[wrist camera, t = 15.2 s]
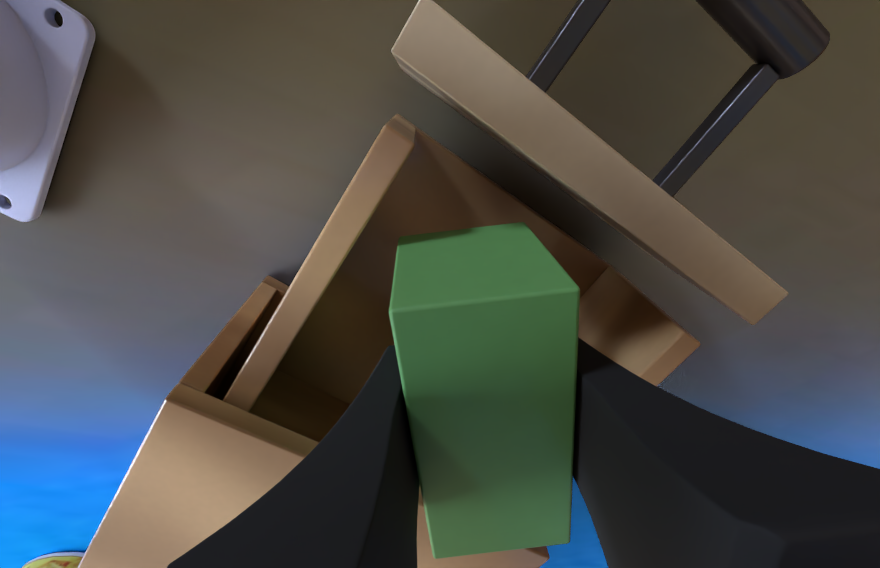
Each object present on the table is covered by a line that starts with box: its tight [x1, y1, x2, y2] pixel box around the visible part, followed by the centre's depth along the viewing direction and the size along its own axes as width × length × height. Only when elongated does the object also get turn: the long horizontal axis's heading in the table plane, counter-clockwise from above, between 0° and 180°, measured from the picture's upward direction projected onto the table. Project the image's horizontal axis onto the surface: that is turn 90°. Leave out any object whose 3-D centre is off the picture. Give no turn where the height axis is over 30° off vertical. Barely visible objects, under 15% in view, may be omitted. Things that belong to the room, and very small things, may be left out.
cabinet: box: [77, 276, 549, 568], centre depth 18 cm, size 15×13×8 cm
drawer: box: [223, 0, 830, 442], centre depth 14 cm, size 20×12×6 cm, turn 146°
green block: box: [389, 222, 580, 559], centre depth 11 cm, size 7×3×4 cm, turn 6°
